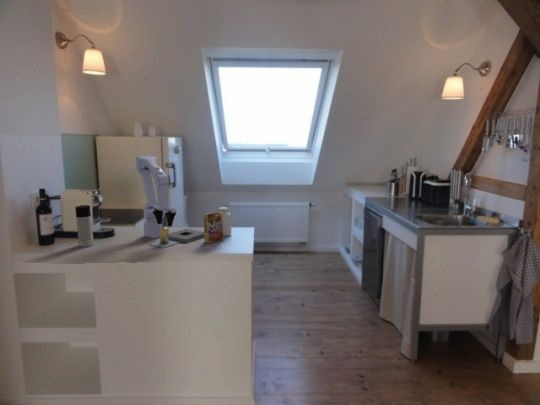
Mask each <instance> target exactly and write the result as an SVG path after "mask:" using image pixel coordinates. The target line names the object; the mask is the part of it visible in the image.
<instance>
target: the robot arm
mask: <svg viewBox="0 0 540 405" xmlns="http://www.w3.org/2000/svg"><path fill="white" fill-rule="evenodd" d="M157 160H158V159H157V157H156V156H155V155H154V154H153V155H137V156H136V158H135V165H136V170H137V173H138V174H140V175H141V178H142V183H143V187H144V191H145V198H146V204H145V205H144V206H143V208H142V210H143V218H144V223H143V235H142V236H143V237H145V238H150V239H158V238H160V231H159V228H160V227H163V219H164V218H165V217H166V221H167V227H168V228H169V227H173V224H174V219H175V216H176V215H177V211H176V207H175V208H174V207H172V206H170V204H171V203H170V202H171V201H170V185H171V176H170V174H169V173H165V172H164V170H163V169H162V168H161V167H160V166H158V163H157V162H158V161H157ZM153 180H154V183H153ZM154 184H155V188H154ZM155 190H156V193H155ZM156 194H157V195H156Z"/></svg>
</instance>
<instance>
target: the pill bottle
mask: <svg viewBox="0 0 540 405" xmlns="http://www.w3.org/2000/svg"><path fill="white" fill-rule="evenodd" d="M218 211H220V212H222V214H223V237H229V236H231V235H232V215H231V212H229V207H226V206H221V207H218Z"/></svg>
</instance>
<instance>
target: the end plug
mask: <svg viewBox="0 0 540 405" xmlns="http://www.w3.org/2000/svg"><path fill="white" fill-rule="evenodd" d="M159 231H160V237H159V241H160V244H169V241H170V240H169V233H170V232H169V226H162V227H160V228H159Z"/></svg>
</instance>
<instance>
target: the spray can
mask: <svg viewBox="0 0 540 405" xmlns="http://www.w3.org/2000/svg"><path fill="white" fill-rule="evenodd" d="M74 209H75V210H74V211H75V220H76V228H77V238H78V246H79V247H80V246H81V248H83V247H84V248H85V247H87V246H88V247H91V246H93V245H94V234H93V233H94V232H93V223H92V214H91V213H92V212H91V205H89V204H81V205H77V206H75V208H74Z"/></svg>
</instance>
